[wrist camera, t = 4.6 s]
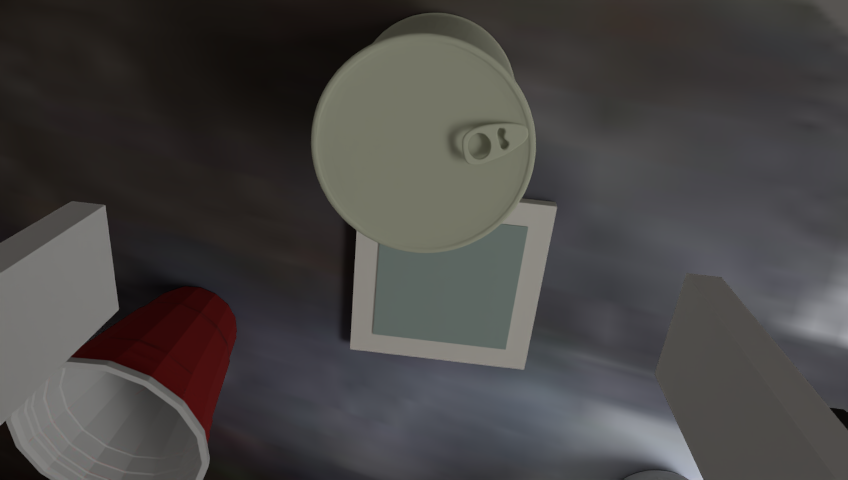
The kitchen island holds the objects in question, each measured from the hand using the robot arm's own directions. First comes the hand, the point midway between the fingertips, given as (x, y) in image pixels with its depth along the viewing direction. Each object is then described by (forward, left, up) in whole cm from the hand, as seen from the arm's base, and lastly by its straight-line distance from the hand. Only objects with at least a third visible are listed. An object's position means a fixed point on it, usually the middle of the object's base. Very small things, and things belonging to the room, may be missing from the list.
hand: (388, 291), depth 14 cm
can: (0, 0, -23) cm, 23 cm away
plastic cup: (-15, -17, -23) cm, 33 cm away
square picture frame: (+2, -11, -23) cm, 26 cm away
